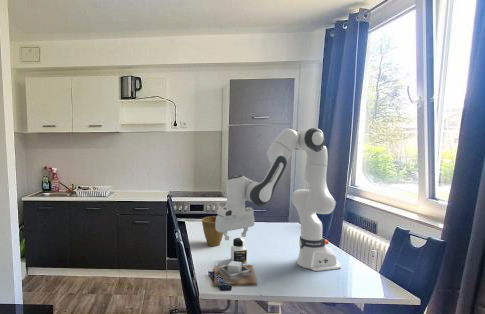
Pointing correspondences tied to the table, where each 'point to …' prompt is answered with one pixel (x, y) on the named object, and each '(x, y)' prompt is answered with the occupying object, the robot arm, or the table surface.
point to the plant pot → (211, 231)
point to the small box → (234, 267)
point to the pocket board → (240, 281)
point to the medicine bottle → (238, 251)
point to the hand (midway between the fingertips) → (235, 238)
